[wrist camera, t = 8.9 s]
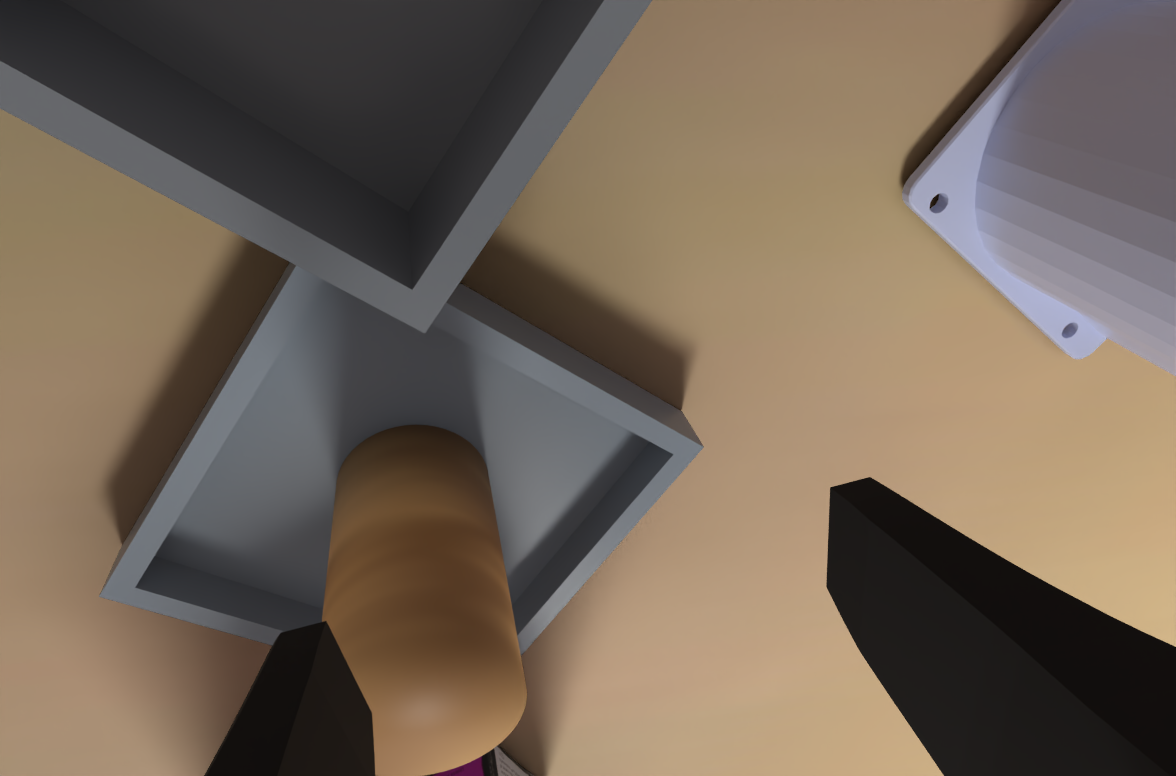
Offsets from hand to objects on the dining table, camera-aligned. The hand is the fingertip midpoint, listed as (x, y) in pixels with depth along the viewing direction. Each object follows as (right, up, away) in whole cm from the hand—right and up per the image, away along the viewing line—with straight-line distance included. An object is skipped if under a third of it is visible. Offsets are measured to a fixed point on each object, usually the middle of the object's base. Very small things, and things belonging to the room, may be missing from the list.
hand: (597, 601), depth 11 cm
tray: (-5, +1, +10) cm, 11 cm away
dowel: (-5, 0, +10) cm, 11 cm away
